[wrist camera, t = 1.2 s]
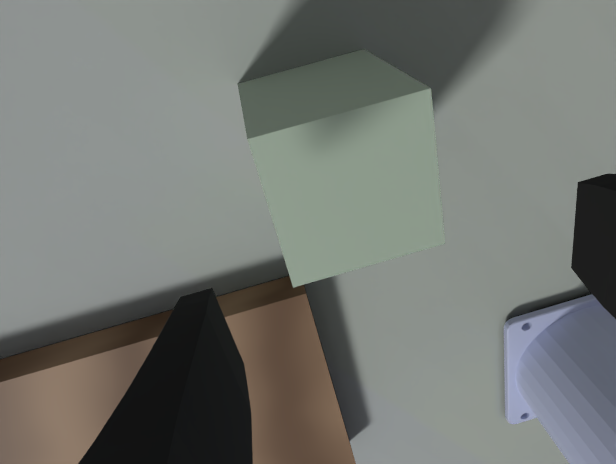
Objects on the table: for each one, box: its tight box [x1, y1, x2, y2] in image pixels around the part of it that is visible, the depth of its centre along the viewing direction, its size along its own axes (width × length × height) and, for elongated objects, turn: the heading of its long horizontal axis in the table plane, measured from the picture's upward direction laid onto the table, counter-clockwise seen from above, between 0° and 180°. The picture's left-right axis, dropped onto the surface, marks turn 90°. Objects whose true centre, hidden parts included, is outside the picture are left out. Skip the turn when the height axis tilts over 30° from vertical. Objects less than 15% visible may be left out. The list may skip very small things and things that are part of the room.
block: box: [238, 49, 445, 288], centre depth 15 cm, size 4×4×6 cm
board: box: [0, 276, 356, 464], centre depth 23 cm, size 16×12×2 cm
